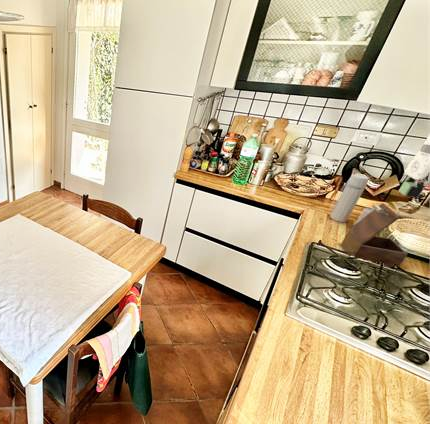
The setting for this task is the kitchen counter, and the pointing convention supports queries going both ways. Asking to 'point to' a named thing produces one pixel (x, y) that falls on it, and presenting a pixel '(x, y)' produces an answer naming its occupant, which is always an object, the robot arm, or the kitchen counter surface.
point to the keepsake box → (375, 250)
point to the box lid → (373, 223)
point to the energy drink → (364, 213)
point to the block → (406, 188)
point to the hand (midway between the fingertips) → (408, 193)
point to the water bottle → (348, 197)
